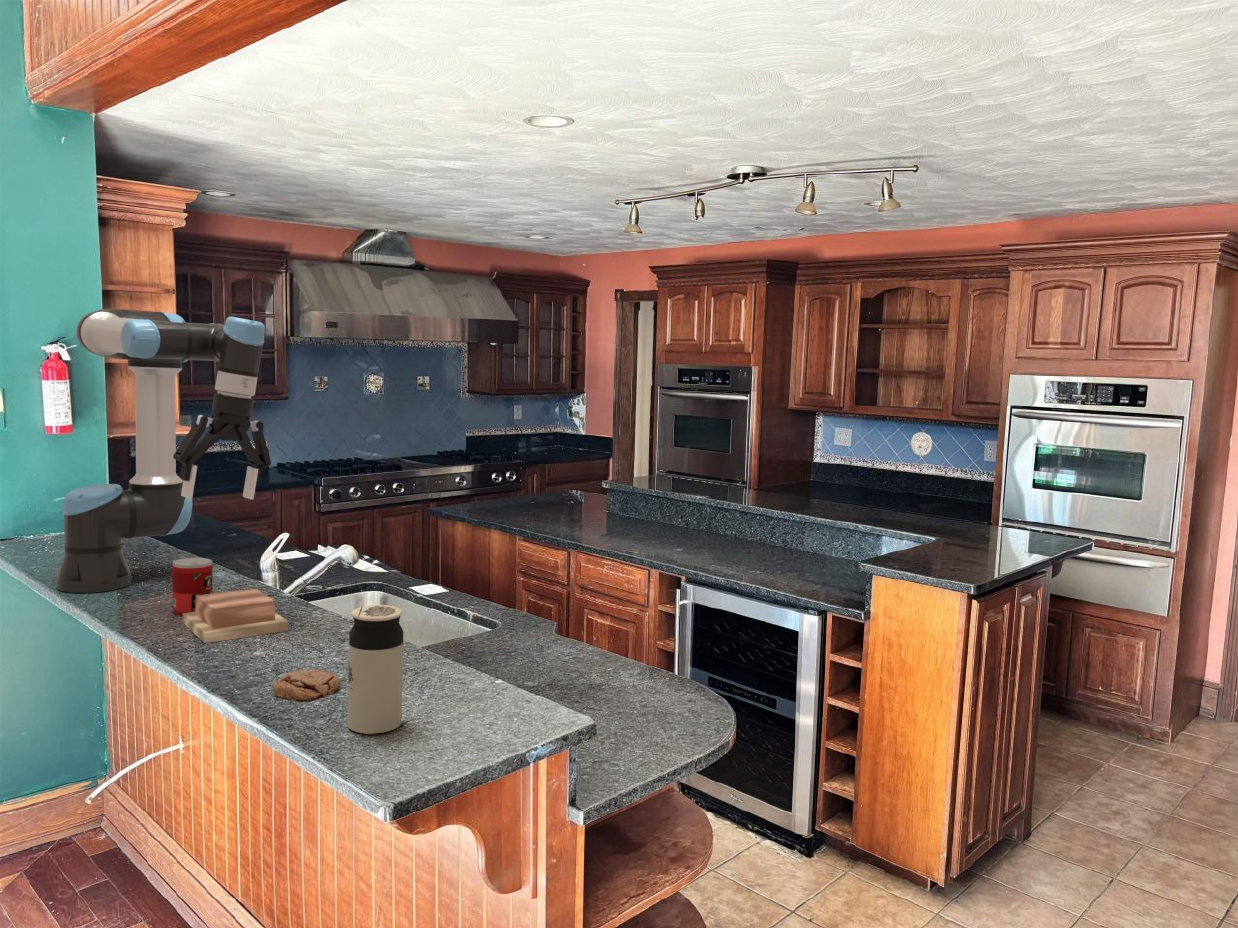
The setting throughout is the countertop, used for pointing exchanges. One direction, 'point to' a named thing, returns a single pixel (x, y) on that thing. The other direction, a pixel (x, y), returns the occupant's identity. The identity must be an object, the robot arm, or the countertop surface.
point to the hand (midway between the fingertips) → (218, 497)
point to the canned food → (190, 582)
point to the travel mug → (375, 669)
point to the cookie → (306, 685)
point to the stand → (234, 616)
